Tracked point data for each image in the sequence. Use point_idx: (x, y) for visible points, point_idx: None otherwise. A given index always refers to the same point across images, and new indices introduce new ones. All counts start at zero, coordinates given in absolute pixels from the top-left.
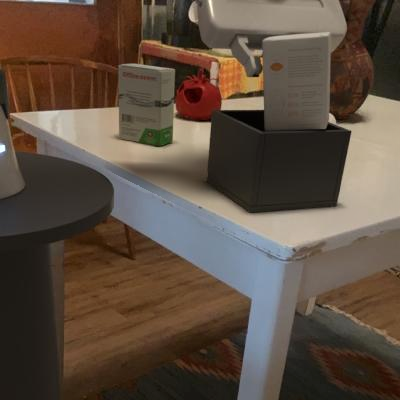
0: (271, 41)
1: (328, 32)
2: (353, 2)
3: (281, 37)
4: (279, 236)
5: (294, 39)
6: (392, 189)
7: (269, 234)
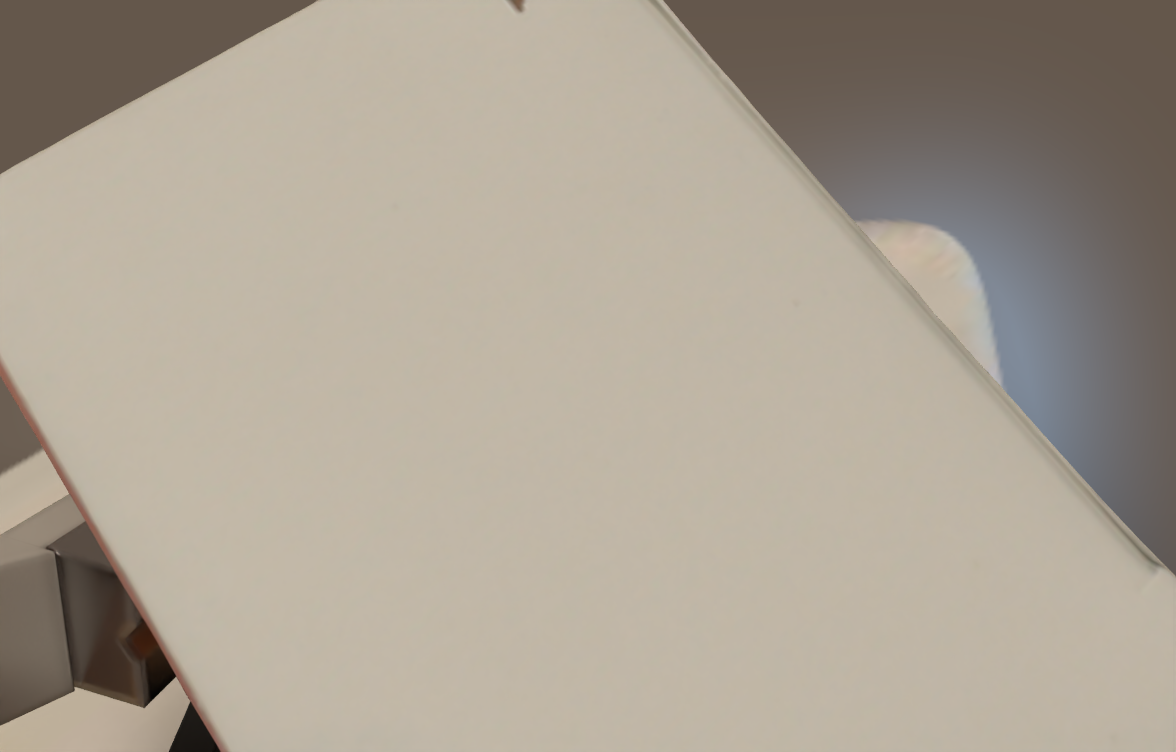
0: (1143, 547)
1: (65, 160)
2: None
3: (911, 537)
4: (930, 302)
5: (866, 245)
6: (31, 461)
7: (953, 330)
